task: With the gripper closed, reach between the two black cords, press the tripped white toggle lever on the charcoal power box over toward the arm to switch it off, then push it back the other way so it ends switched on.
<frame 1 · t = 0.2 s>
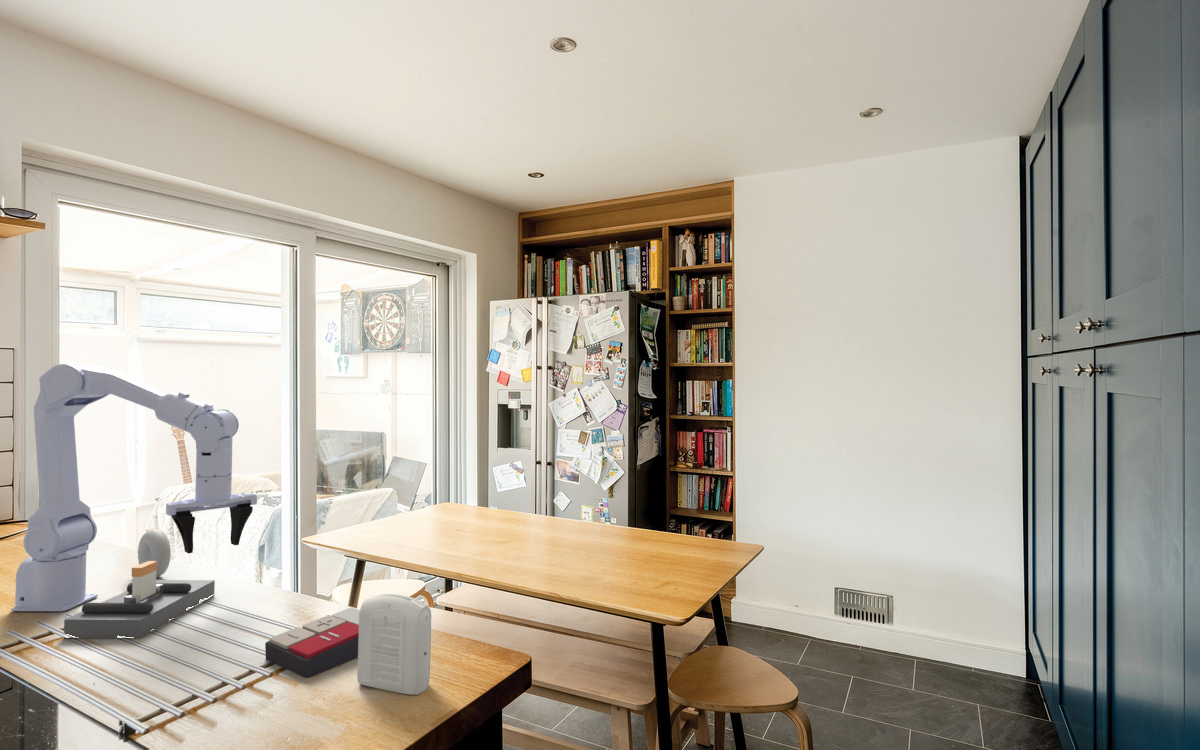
hand: (212, 548, 117), 10 cm above the counter, tool pointing down, fingers open, 7 cm apart
lever: (144, 582, 108), point 6 cm above the counter, hinge at 0.0°
donut: (153, 578, 131), on the counter
power box: (146, 615, 110), on the counter
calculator: (331, 654, 97), on the counter
photo printer: (393, 686, 86), on the counter
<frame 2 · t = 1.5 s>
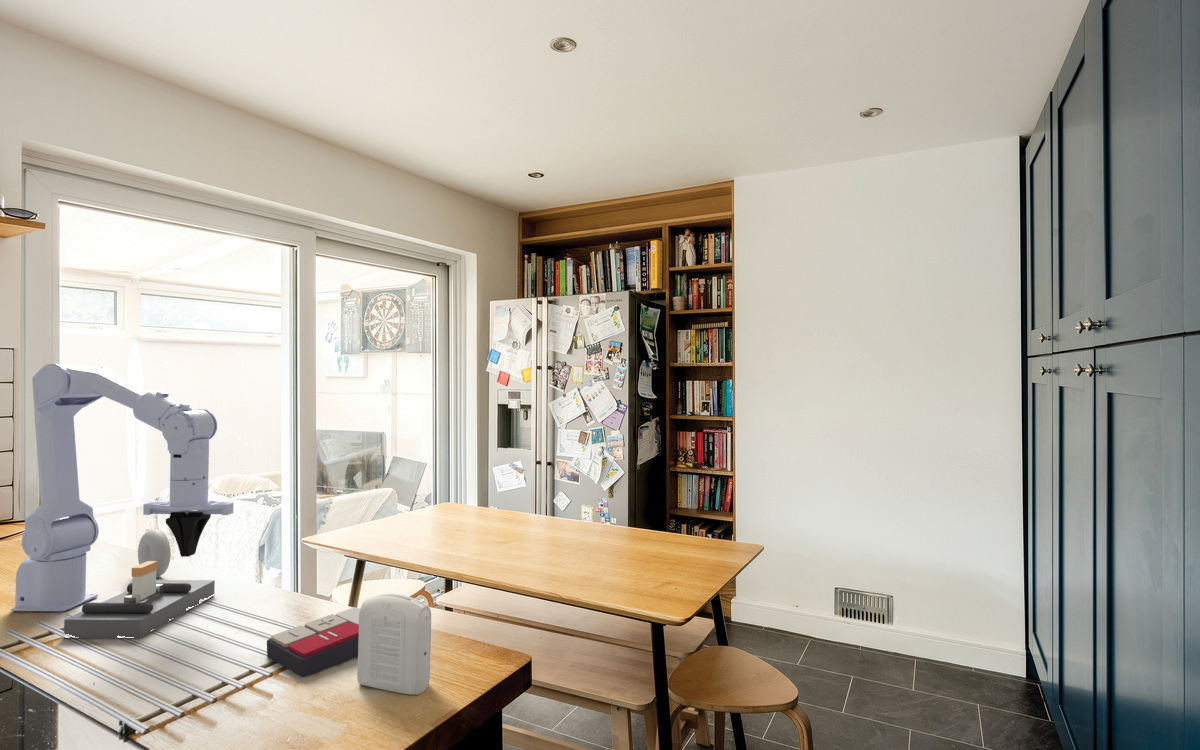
hand: (188, 555, 111), 10 cm above the counter, tool pointing down, fingers closed
nothing on the counter moved.
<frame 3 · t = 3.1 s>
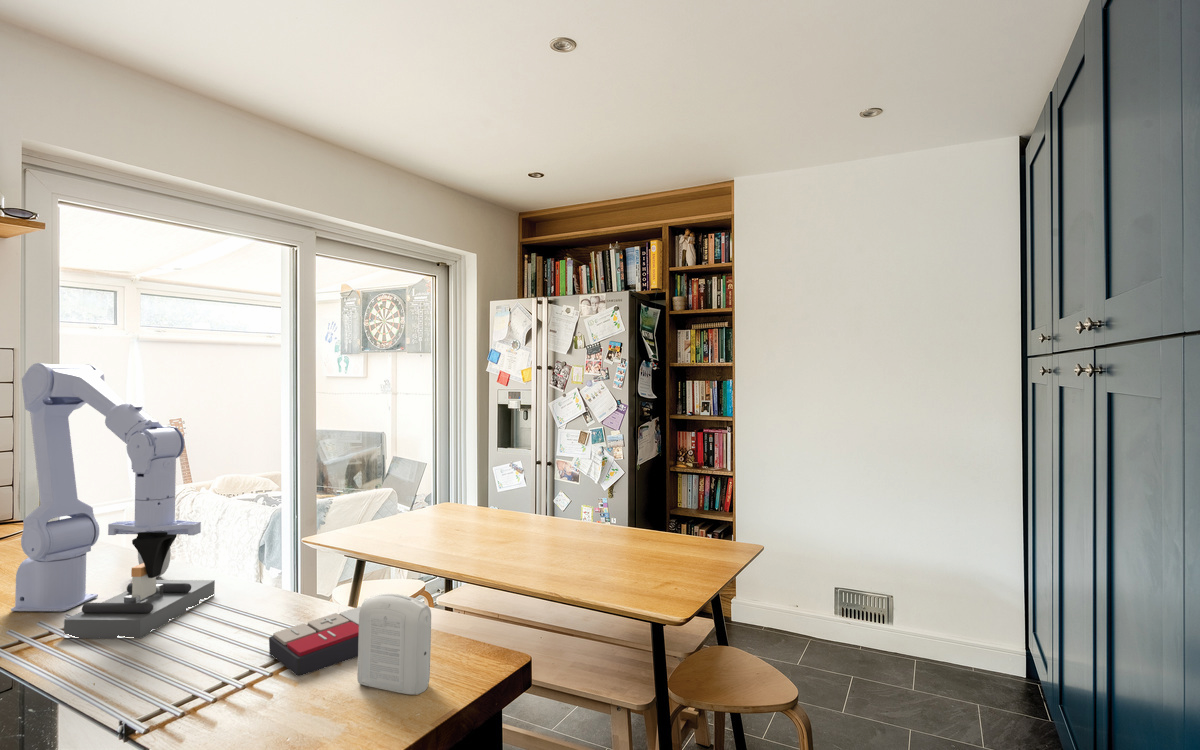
hand: (154, 576, 108), 7 cm above the counter, tool pointing down, fingers closed, pressing on lever
lever: (144, 582, 108), point 6 cm above the counter, hinge at -0.4°, touching gripper
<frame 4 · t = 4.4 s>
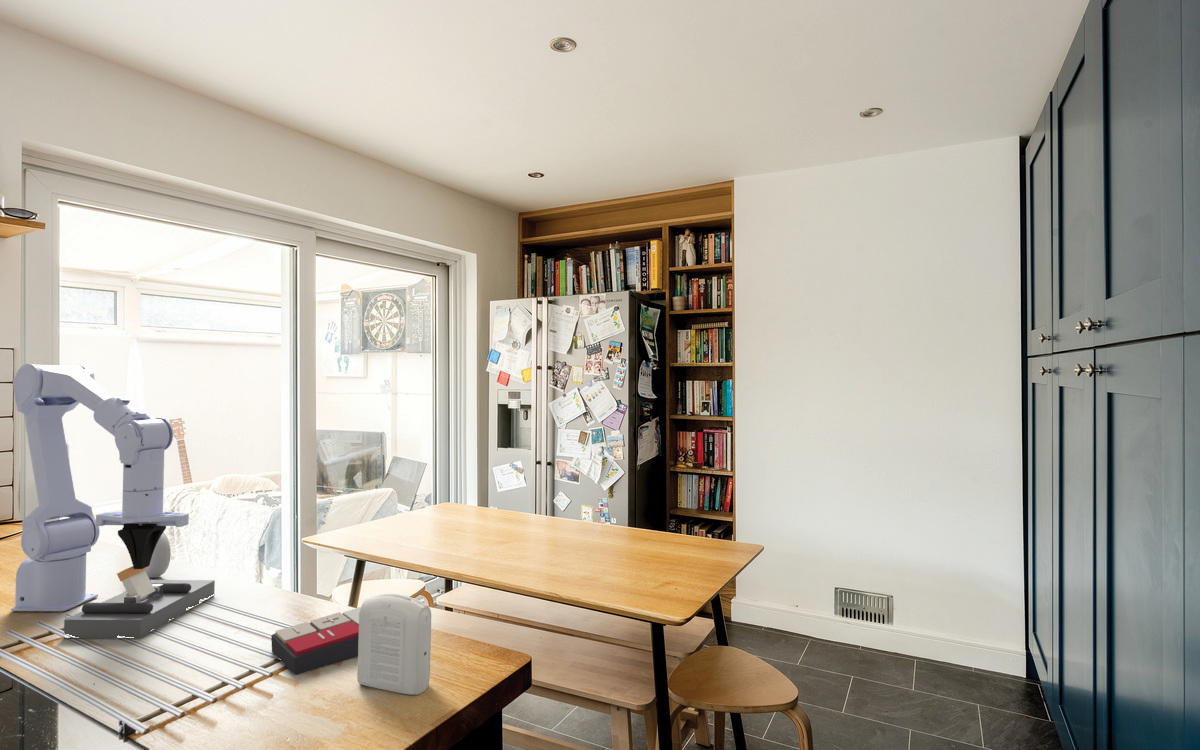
hand: (141, 567, 108), 9 cm above the counter, tool pointing down, fingers closed
lever: (137, 583, 108), point 6 cm above the counter, hinge at -28.2°
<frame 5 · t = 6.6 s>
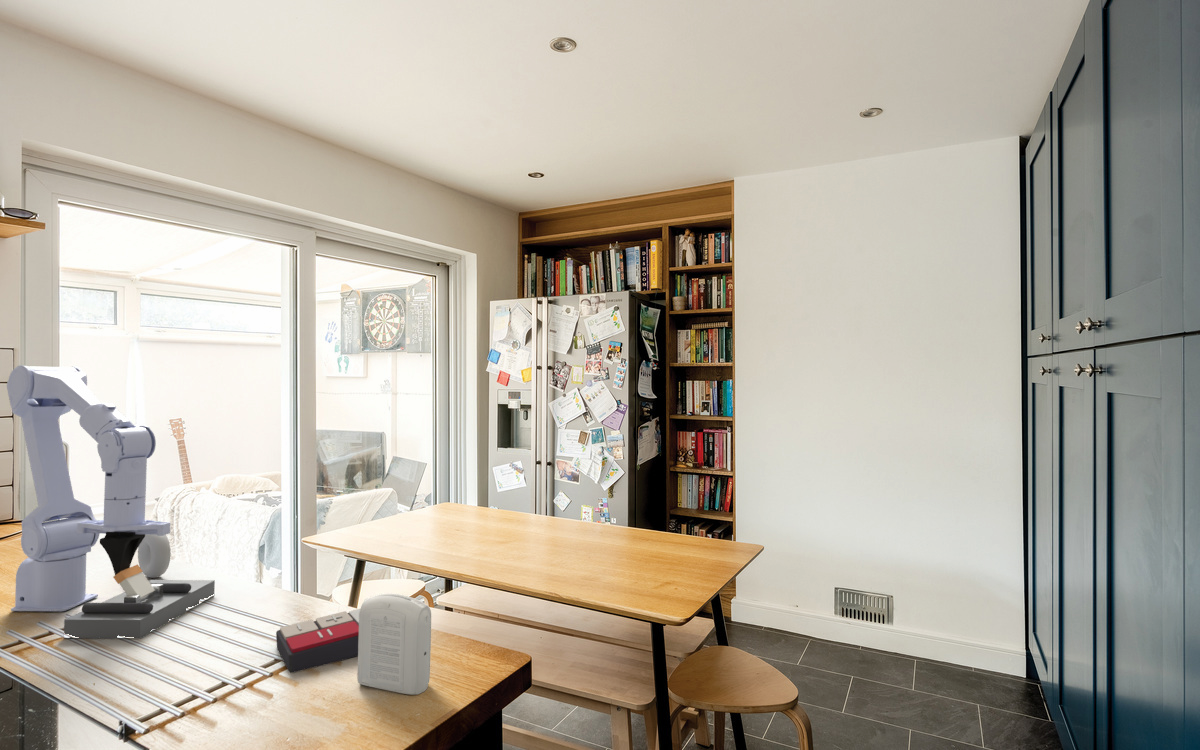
hand: (122, 575, 108), 8 cm above the counter, tool pointing down, fingers closed, pressing on lever
lever: (135, 584, 108), point 6 cm above the counter, hinge at -36.3°, touching gripper
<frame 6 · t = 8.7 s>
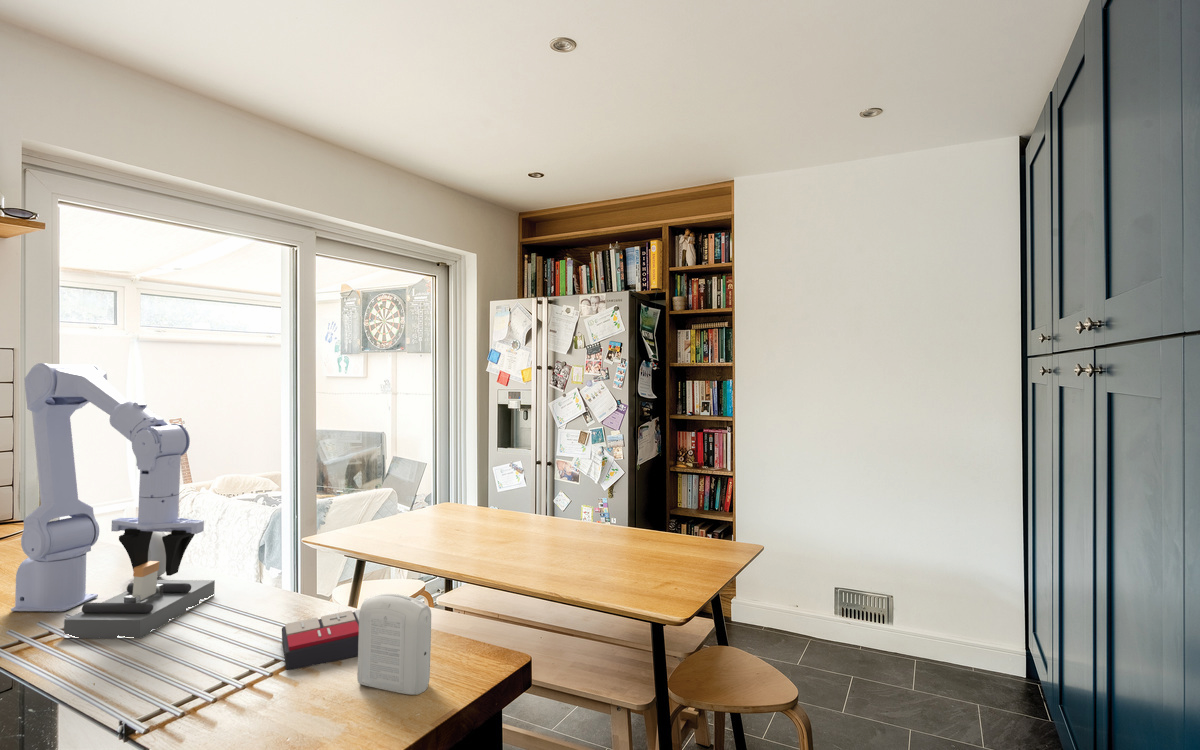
hand: (156, 573, 108), 8 cm above the counter, tool pointing down, fingers open, 5 cm apart
lever: (145, 582, 108), point 6 cm above the counter, hinge at 3.8°, touching gripper
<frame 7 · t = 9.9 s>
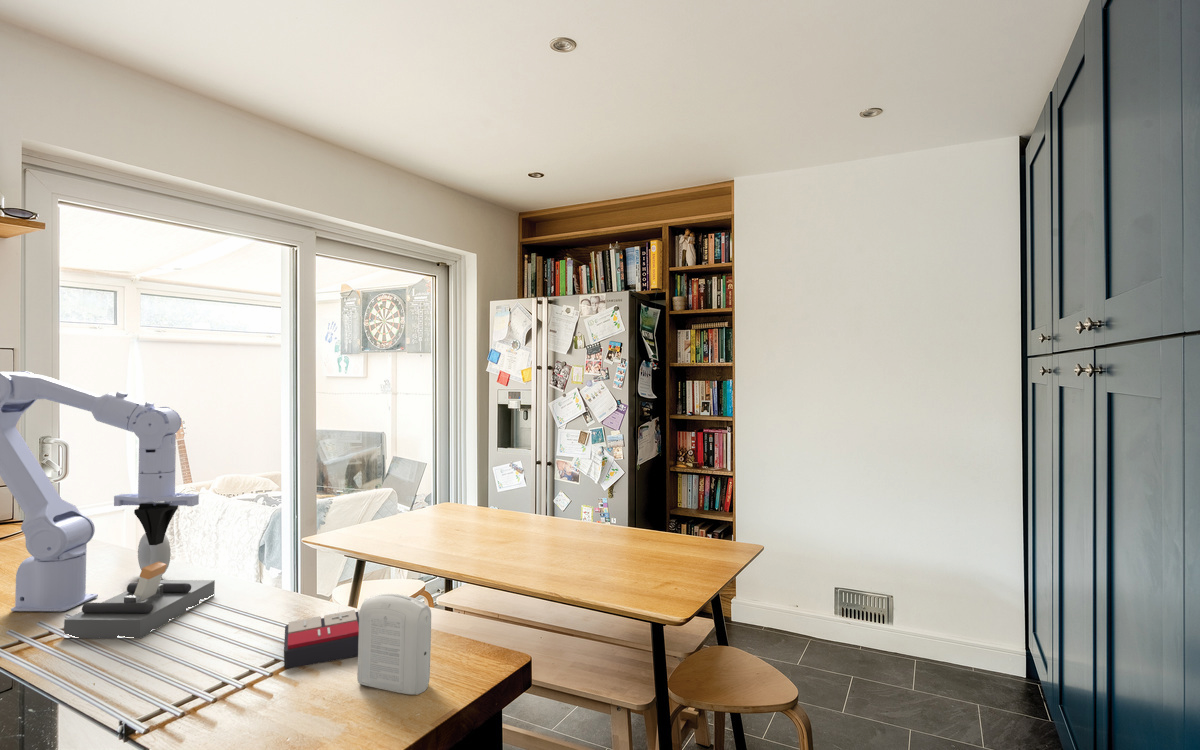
hand: (156, 543, 118), 10 cm above the counter, tool pointing down, fingers closed
lever: (149, 582, 108), point 6 cm above the counter, hinge at 18.5°
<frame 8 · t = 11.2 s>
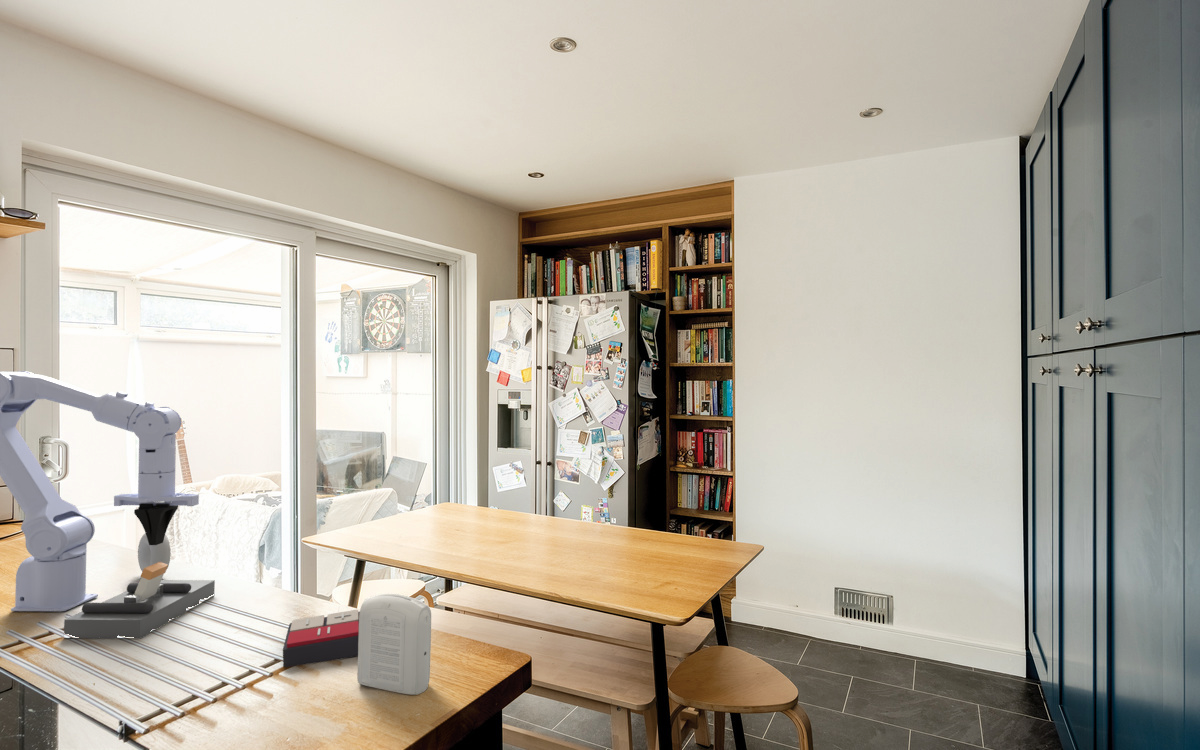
hand: (156, 543, 118), 10 cm above the counter, tool pointing down, fingers closed
lever: (149, 583, 108), point 6 cm above the counter, hinge at 20.9°
at the end: lever at +21° (first picture: +0°) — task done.
